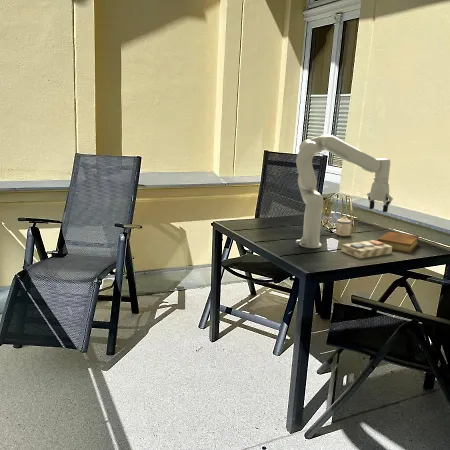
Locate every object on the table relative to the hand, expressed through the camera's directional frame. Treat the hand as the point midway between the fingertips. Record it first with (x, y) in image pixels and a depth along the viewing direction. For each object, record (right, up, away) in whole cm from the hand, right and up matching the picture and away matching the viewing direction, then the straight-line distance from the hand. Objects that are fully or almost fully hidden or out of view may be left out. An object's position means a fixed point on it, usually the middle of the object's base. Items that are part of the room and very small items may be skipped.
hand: (378, 210), depth 253 cm
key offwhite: (-9, -21, -7) cm, 24 cm away
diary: (+15, -21, +10) cm, 28 cm away
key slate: (-15, -22, -10) cm, 28 cm away
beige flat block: (-9, -24, -6) cm, 26 cm away
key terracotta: (-2, -21, -3) cm, 21 cm away
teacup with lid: (-13, -15, +30) cm, 36 cm away
